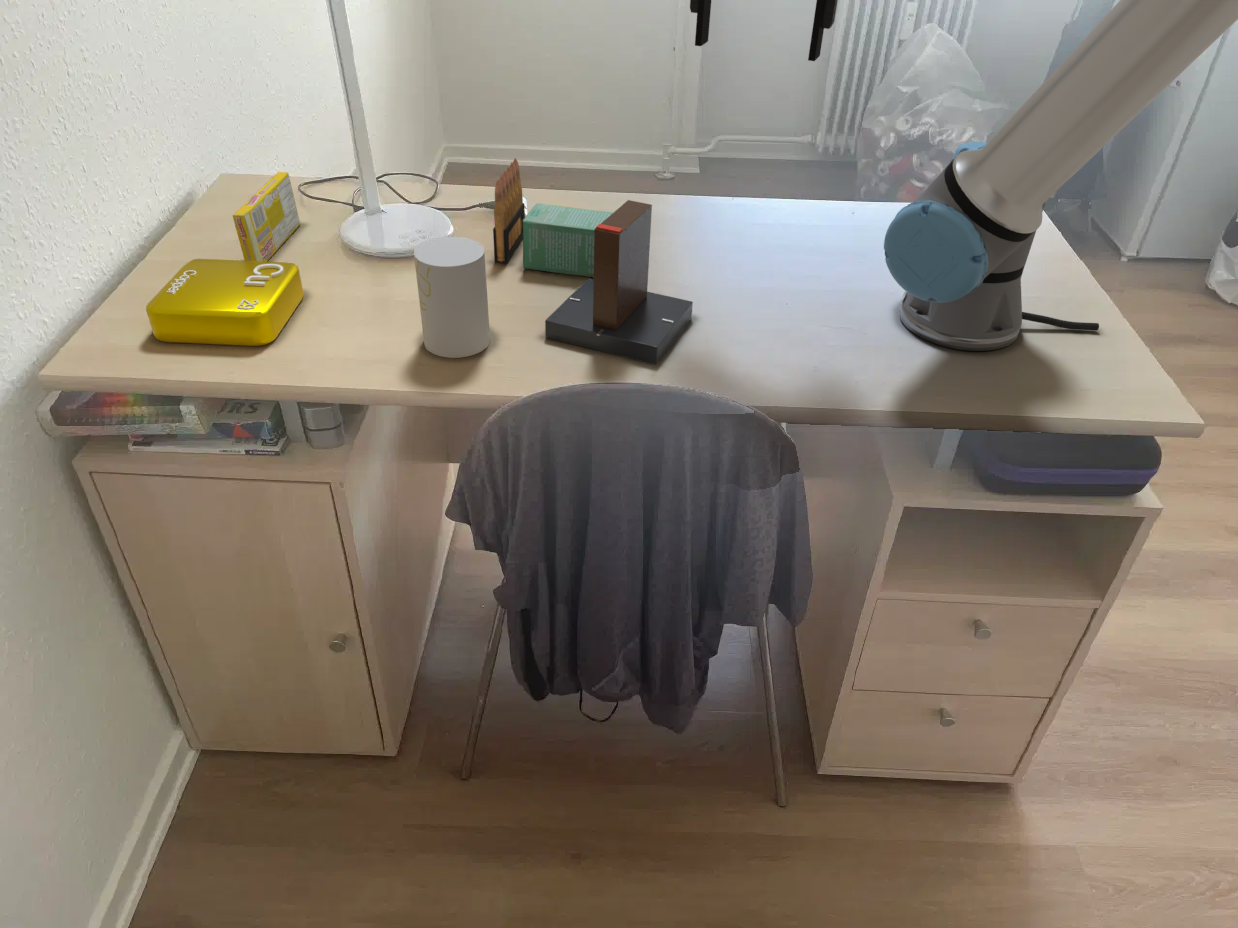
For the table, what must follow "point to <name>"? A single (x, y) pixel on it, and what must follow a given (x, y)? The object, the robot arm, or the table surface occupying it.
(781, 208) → the table surface
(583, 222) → the box
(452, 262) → the cup
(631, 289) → the brown red-tipped block
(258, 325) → the element tile
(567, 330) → the dark grey square slab
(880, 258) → the table surface
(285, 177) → the candy box
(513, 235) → the ammunition clip
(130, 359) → the table surface
